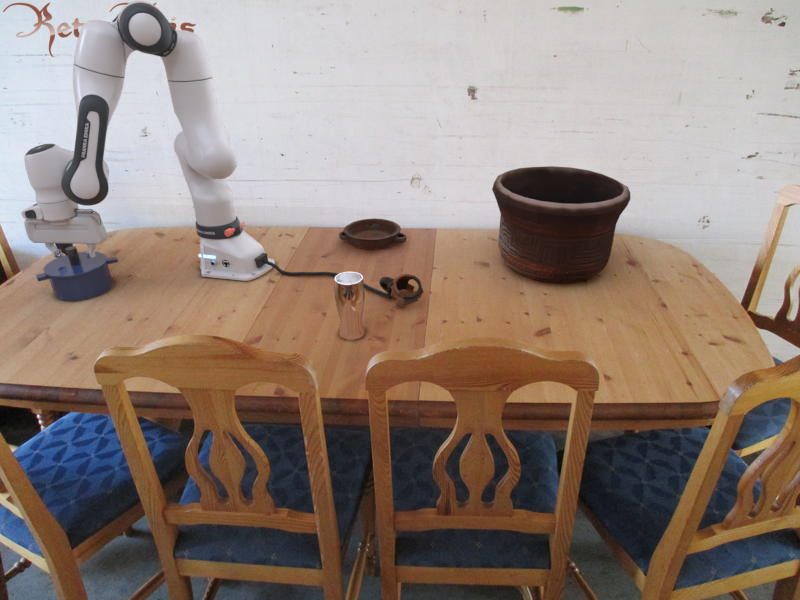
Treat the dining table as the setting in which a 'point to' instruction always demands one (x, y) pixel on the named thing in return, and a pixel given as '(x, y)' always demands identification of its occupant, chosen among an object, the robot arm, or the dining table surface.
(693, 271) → the dining table surface
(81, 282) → the pot
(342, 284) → the beer glass
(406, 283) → the pottery mug
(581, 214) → the ceramic pot
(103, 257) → the lid
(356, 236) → the dish
